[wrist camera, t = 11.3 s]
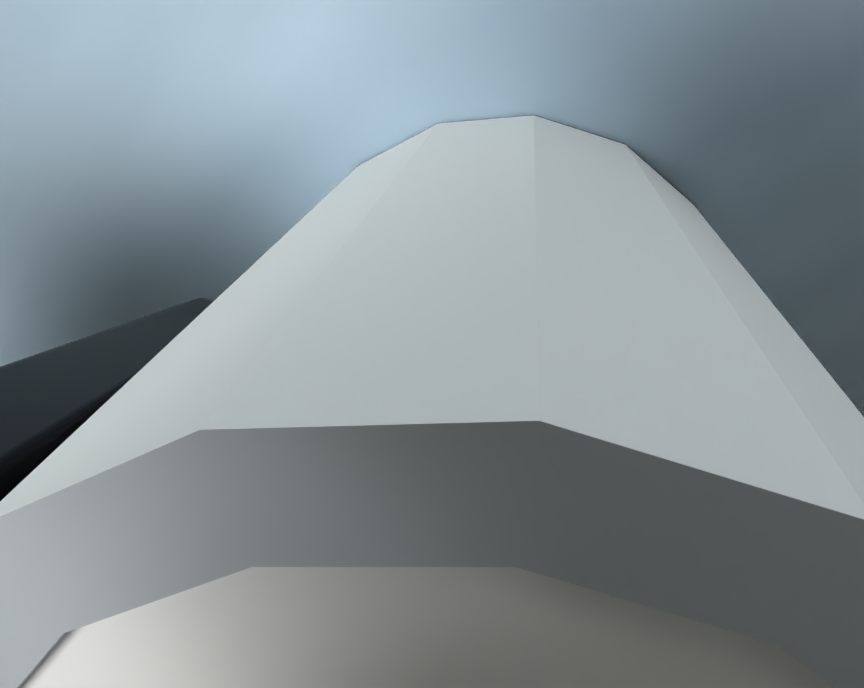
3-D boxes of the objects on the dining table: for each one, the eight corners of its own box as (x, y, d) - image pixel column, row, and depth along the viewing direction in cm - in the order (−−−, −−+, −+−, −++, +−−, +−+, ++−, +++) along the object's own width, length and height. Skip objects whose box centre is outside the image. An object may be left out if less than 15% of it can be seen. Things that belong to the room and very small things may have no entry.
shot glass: (585, 592, 13) (622, 1228, 7) (180, 402, 12) (-191, 944, 6) (908, 240, 9) (1546, 882, 3) (378, -64, 9) (-16, 86, 2)
